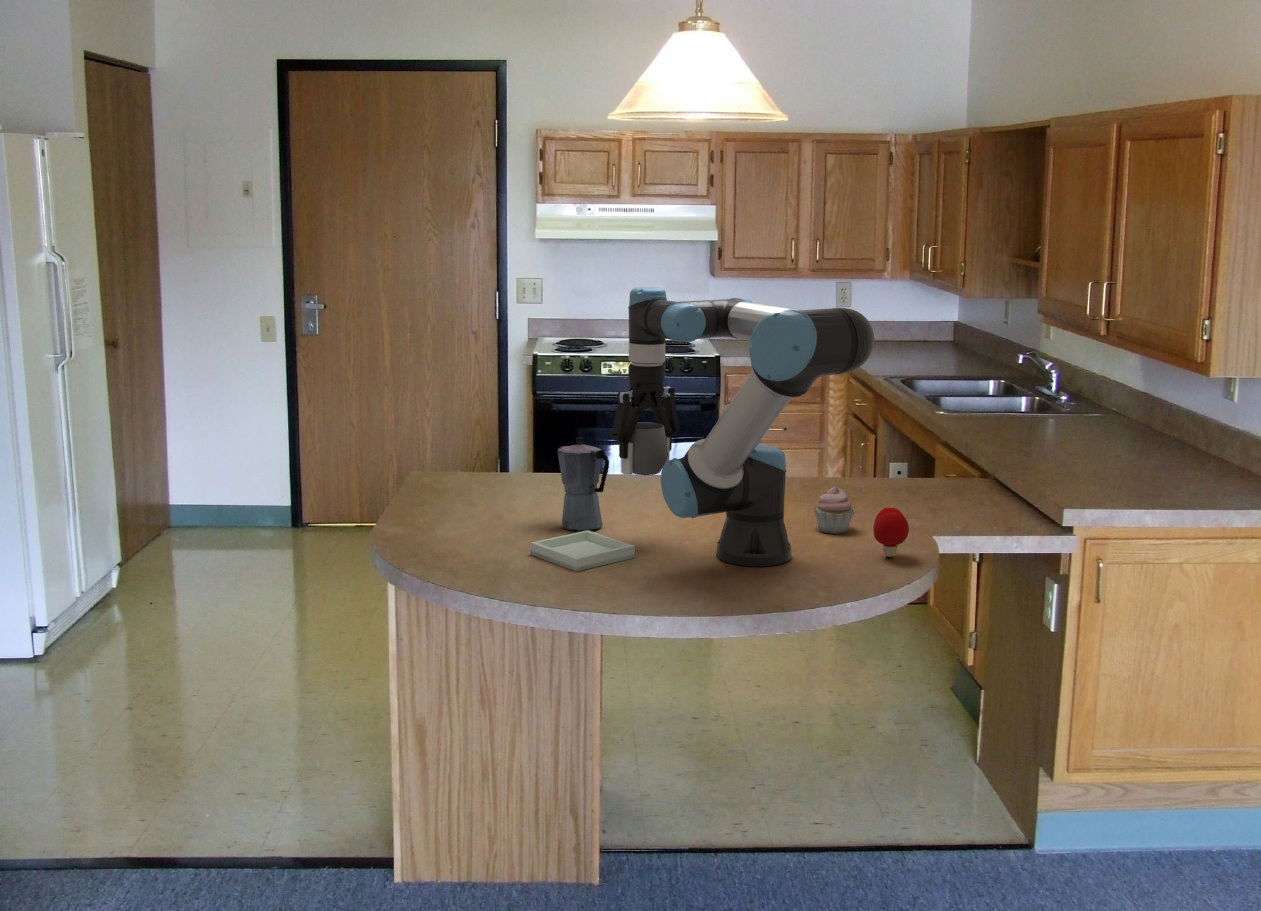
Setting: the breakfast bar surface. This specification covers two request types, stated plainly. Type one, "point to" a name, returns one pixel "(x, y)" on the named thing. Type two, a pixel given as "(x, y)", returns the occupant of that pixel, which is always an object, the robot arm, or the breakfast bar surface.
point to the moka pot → (582, 485)
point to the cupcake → (834, 512)
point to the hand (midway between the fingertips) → (645, 470)
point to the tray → (582, 550)
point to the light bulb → (890, 530)
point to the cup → (649, 448)
